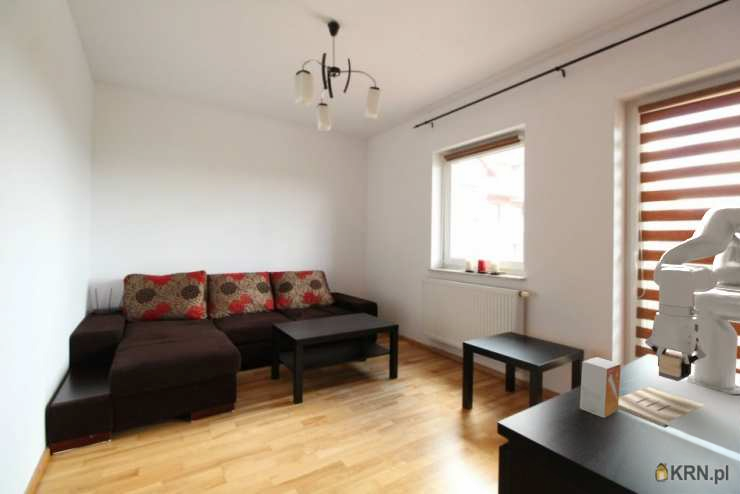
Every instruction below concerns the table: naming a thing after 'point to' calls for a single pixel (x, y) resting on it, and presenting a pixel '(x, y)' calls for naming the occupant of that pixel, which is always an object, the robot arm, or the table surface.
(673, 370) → the block
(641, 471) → the table surface
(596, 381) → the small box
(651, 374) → the table surface
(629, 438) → the table surface
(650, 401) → the board
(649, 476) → the table surface
